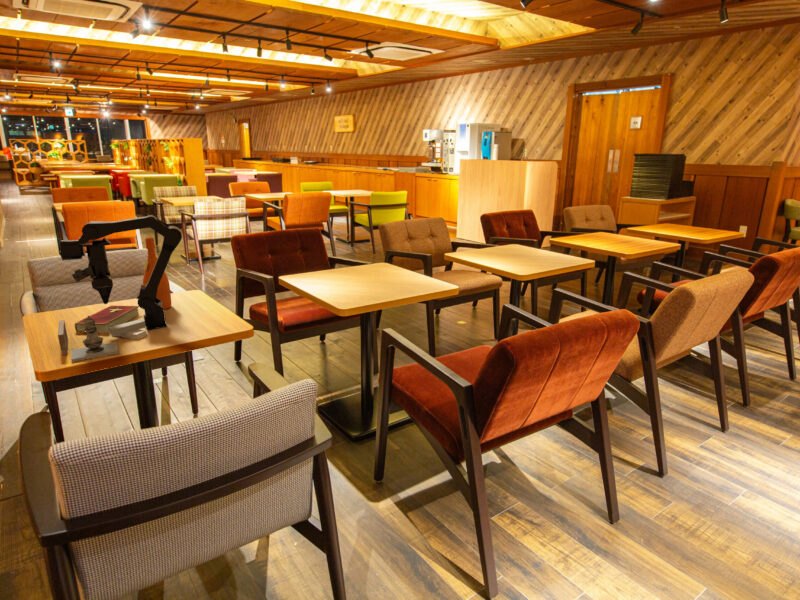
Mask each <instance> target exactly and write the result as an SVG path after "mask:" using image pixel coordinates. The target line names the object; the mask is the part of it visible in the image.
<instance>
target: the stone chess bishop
mask: <svg viewBox="0 0 800 600" xmlns="http://www.w3.org/2000/svg"><path fill="white" fill-rule="evenodd" d="M89 316H90V315H87V317H88V318H87V317H86V318H87V319H85V321H84V323H85V328H86V329H85V331H86V332H85V333H86V339H84V340H82V344H83V345H84V347H87V348H88V349H87V350H86V351H85V352H86V353H97V352H100V351H102V350H104V347H101V345H102V344H103V342H104V337H103V336H99V335H98V332H97V330H96V329H97V327H96V326H95V321H94V319H93V318H89Z"/></svg>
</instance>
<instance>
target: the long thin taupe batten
mask: <svg viewBox="0 0 800 600" xmlns="http://www.w3.org/2000/svg"><path fill="white" fill-rule="evenodd" d="M57 337H58V343H59V348H60V352H61V356H65V355H68V353H69V352H68V349H69V348H68V345H69V338H68V337H69V336H68V332H67V327H66V323H65V319H64V320H58V328H57Z"/></svg>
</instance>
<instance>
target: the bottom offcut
mask: <svg viewBox="0 0 800 600" xmlns="http://www.w3.org/2000/svg"><path fill="white" fill-rule="evenodd" d="M120 336H121V337H122V338H127V339H132V340H140V339H142V338H144V337H146V336H147V331H146V330H144V329H143V330H142V329H138V330H135V331H131V332H128V333H124V334H121V335H117V336H116V337H120ZM121 337H120V338H121ZM141 337H142V338H141ZM139 338H140V339H139Z"/></svg>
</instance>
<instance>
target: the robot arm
mask: <svg viewBox="0 0 800 600" xmlns="http://www.w3.org/2000/svg"><path fill="white" fill-rule="evenodd" d="M147 228H150V229H151V230H153V231H155V232H156V233H158V234H160V236H162V237H163V240H162V243H161V249H160V251H159V254H158V257H157V261H156V263H155V266H154V268H153V271H152V273H151V276H150V278H149V281H148V282H147V284H146V285H145V286H143V284H141V285H140V289H139V291H138V292H137V294H136V300H137V306H139V307H138V308H140V309H142V310H144V314H143V321H145V328H147V330H154V329H160V328H166V327H168V326H167V325H168V324H167V322H166V316H165V310H164V309H163V308H162V301H161V300H159V299H158V298H156V295H157V290H158V286H159V283H160V281H161V278H162V276H163V273H164V271H166V268H167V266H168V264H169V261H170V259H171V256H172V255H173V252H174V251H175V250H176V249H177V247H178V246H179V244H180V242H181V241H182V240H183V239H182V238H183V234H182V233H183V232H182V231H181V228H179V227H177V226H175V225H170V224H168V223H166V222H164V221H162V220H160V219H159V218H157V216H154V215H152V214H149V215H147V216H141V217H134V218H128V219H120V220H114V221H107V220H105V221H104V220H91V221H88V222H86V223H85V224H84V225H83V227H82V228H81V233H82V235H81V236H80V237H79V238H78V239H73V240H72V239H71V240H66V239H64V240H62V239H61V240H60V241H59V245H60V246H59V248H60V251H59V254H60V259H61V260H62V261H75V260H83V257H86V254H87V260H88V261H87V265H85V266H82V267H80V268H79V267H78V268H77V269H74V270H73V271H71V273H70V275H71V276H72V278H73V279H74V281H75V282H76V283H79V282H80V281H82V280H84V279H86V278H89V277H90V278H91V280H90V283H91V288H92V289H93V290H95V291H97V292H98V293H99V296H100V298H101V300H102V302H103V305H107V304H108V303H109V300H110V297H111V293H112V290H113V286H114V283H113V278H112V276H111V270H110V267H109V261H108V255H107V249H106V246H108V245H109V246H110V245H111V241H110V240H108V239H107V238H106V237H108V236H110V235H112V234H117V233H122V232H123V233H124V232H129V231H130V232H131V231H135V230H142V229H147ZM90 241H91V242H90ZM88 242H89V243H88Z"/></svg>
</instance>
